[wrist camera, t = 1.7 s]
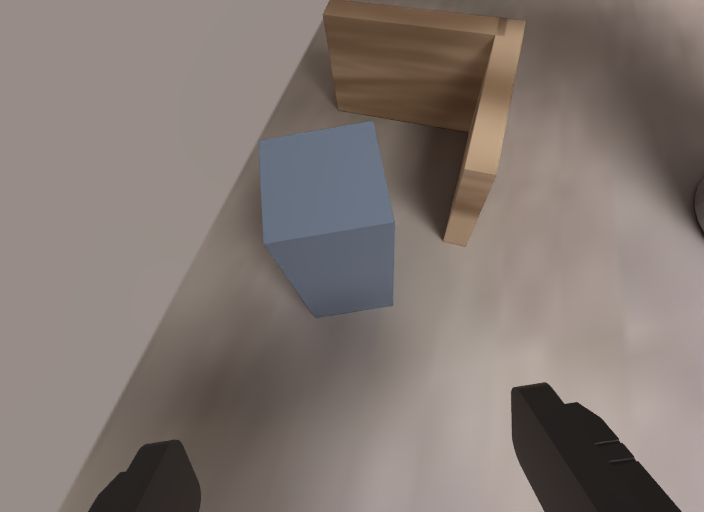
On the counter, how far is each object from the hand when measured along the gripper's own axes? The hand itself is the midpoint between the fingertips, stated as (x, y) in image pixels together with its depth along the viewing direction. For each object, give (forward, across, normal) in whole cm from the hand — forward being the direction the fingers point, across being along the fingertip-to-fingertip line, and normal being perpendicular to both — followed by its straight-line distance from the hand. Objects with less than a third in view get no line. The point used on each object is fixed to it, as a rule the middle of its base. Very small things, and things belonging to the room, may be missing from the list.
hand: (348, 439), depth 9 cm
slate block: (+16, 0, +3) cm, 17 cm away
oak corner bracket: (+22, -5, -3) cm, 23 cm away
